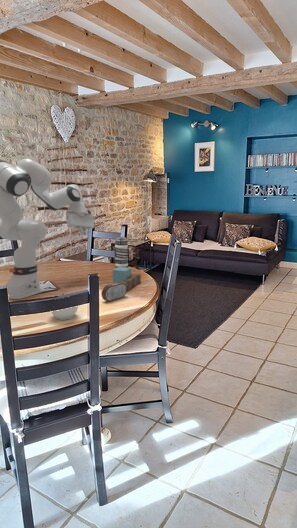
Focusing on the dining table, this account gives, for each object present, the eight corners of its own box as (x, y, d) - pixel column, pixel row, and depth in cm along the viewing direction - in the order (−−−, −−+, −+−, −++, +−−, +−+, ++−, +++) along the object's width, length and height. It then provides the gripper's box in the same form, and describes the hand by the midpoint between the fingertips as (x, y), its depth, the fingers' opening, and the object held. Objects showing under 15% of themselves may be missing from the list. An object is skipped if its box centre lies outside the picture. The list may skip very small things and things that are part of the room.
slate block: (125, 288, 200) (125, 271, 198) (113, 286, 203) (112, 269, 200) (131, 284, 207) (131, 267, 205) (119, 283, 210) (118, 266, 208)
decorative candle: (115, 274, 230) (114, 236, 224) (129, 274, 230) (129, 236, 224) (114, 278, 221) (113, 238, 215) (129, 278, 221) (128, 238, 215)
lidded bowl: (52, 312, 162) (50, 289, 160) (80, 311, 163) (79, 288, 161) (47, 323, 150) (45, 298, 148) (77, 321, 151) (76, 297, 149)
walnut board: (125, 292, 192) (125, 283, 191) (120, 291, 194) (120, 282, 192) (140, 281, 213) (140, 273, 211) (136, 281, 214) (136, 273, 212)
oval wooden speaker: (123, 295, 187) (123, 280, 185) (127, 296, 185) (127, 281, 183) (101, 302, 176) (100, 285, 175) (105, 303, 174) (104, 287, 172)
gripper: (69, 208, 196) (75, 232, 194) (93, 212, 213) (99, 234, 211) (61, 212, 199) (67, 236, 197) (85, 215, 216) (91, 237, 215)
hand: (83, 235), depth 204 cm, fingers closed
